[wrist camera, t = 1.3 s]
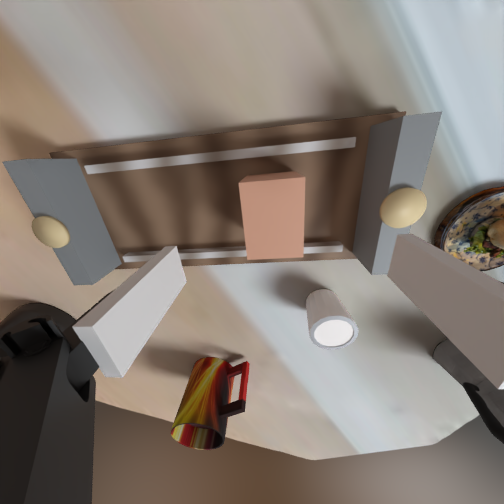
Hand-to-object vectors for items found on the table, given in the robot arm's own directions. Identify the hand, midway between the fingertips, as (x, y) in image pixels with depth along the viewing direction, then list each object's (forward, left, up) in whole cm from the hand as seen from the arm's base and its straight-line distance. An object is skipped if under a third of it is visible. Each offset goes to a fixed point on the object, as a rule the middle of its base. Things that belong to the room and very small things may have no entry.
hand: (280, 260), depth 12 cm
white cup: (+8, -18, -18) cm, 26 cm away
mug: (-14, -36, -18) cm, 42 cm away
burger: (+29, -6, -18) cm, 34 cm away
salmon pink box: (0, 0, -16) cm, 16 cm away
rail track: (-7, 0, -17) cm, 19 cm away
